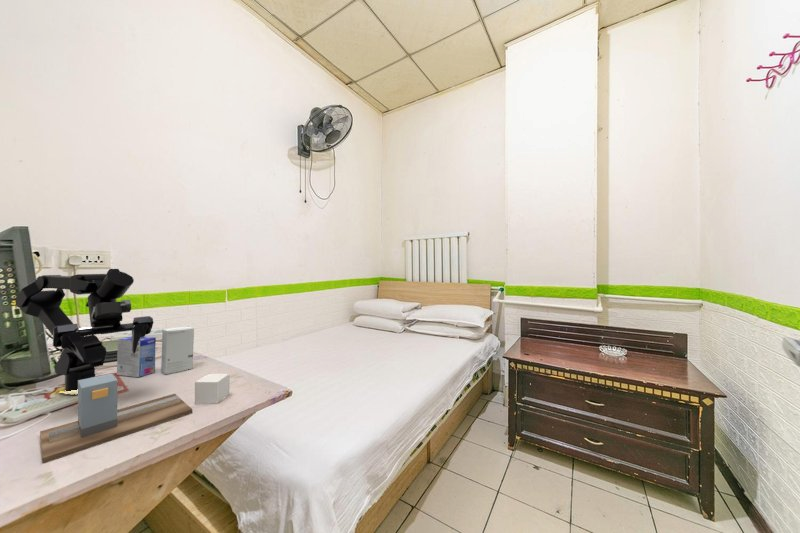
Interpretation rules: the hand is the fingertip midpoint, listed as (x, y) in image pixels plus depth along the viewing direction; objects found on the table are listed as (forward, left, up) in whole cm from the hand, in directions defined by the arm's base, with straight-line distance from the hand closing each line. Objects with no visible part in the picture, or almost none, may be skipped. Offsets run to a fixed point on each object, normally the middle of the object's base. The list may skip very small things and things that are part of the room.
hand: (110, 356), depth 75 cm
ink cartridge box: (-19, +21, -14) cm, 31 cm away
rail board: (+11, -5, -14) cm, 18 cm away
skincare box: (-9, +27, -14) cm, 31 cm away
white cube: (+21, +11, -14) cm, 27 cm away
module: (+9, -8, -13) cm, 17 cm away
